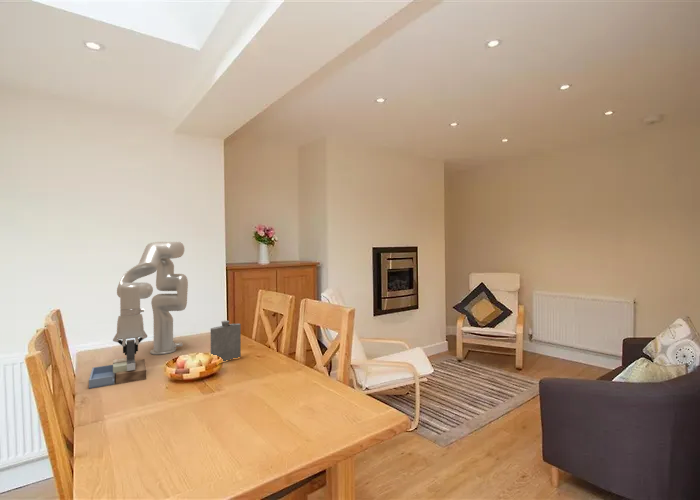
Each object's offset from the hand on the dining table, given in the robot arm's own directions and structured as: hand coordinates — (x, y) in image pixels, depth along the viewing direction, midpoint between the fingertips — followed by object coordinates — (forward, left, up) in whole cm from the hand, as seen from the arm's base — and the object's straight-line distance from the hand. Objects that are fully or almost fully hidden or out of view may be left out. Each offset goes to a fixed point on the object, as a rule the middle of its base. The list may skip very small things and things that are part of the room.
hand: (130, 353), depth 159 cm
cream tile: (+4, -3, -6) cm, 8 cm away
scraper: (0, 0, -5) cm, 5 cm away
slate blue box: (+10, 0, -10) cm, 14 cm away
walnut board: (0, 0, -10) cm, 10 cm away
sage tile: (+4, +4, -6) cm, 8 cm away
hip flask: (-41, +1, -10) cm, 42 cm away
